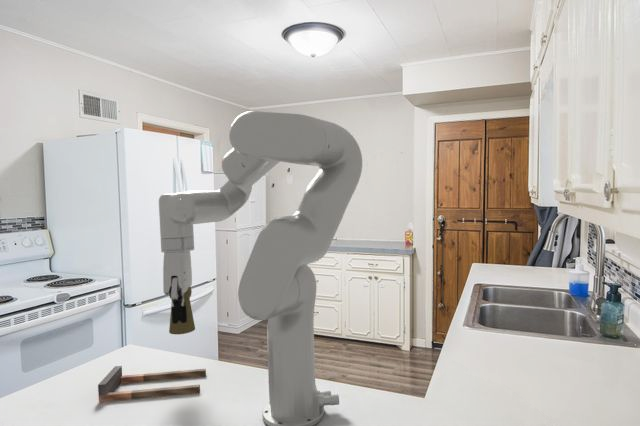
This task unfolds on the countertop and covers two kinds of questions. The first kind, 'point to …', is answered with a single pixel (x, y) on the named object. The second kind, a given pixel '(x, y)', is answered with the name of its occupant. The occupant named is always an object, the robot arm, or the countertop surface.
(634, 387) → the countertop surface
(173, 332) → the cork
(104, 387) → the guide channel
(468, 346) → the countertop surface
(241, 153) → the robot arm
